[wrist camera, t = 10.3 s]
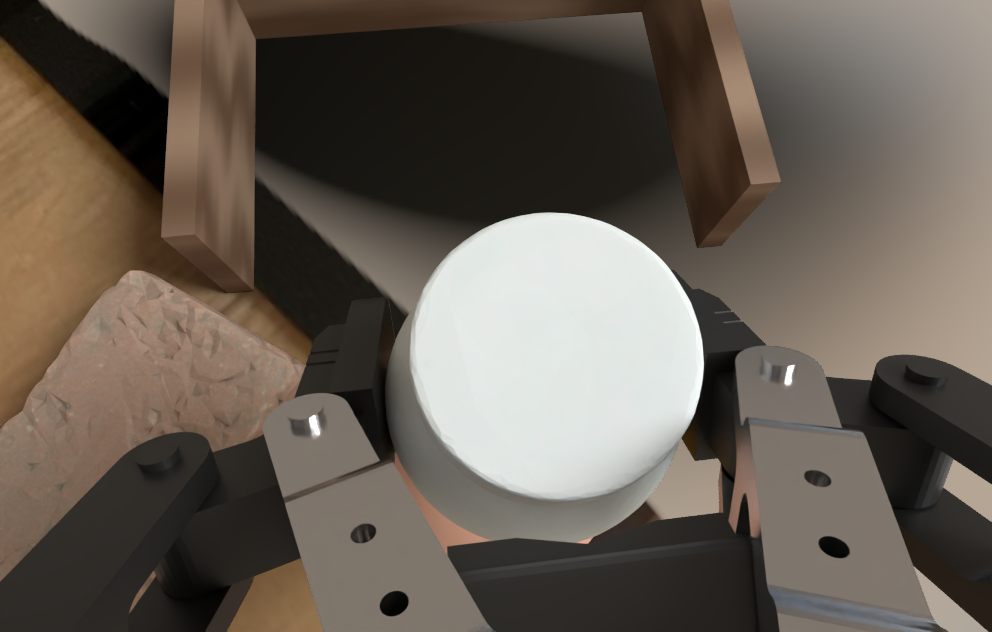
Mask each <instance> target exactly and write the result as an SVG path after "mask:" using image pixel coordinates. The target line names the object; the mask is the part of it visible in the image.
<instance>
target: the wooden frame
mask: <svg viewBox="0 0 992 632" xmlns="http://www.w3.org/2000/svg"><path fill="white" fill-rule="evenodd" d="M630 12H642V14H643V18H644V23H645V27H646V31H647V36H648V40H649V44H650V48H651V53H652V57H653V61H654V65H655V70H656V74H657V78H658V83H659V87H660V91H661V95H662V100H663V104H664V108H665V113H666V117H667V121H668V125H669V130H670V134H671V139H672V143H673V147H674V151H675V155H676V160H677V164H678V169H679V173H680V177H681V181H682V185H683V190H684V194H685V199H686V203H687V207H688V211H689V216H690V220H691V224H692V228H693V233H694V237H695V241H696V245H697V248H704V247H714V246H722V244H723V243H724V242H725V241H726V240H727V239H728V238H729V237H730V236H731V235H732V234H733V233H734V232H735V230H736V229H737V228H738V227H739V226H740V225H741V224H742V223H743V222H744V221H745V220H746V219H747V218H748V216H749V215H750V214H751V213H752V212H753V211H754V210H755V209H756V208H757V207H758V206H759V205H760V204H761V202H763V200H764V199H765V198H766V197H767V196H768V195H769V194H770V193H771V192H772V191H773V190H774V189H775V188H776V187H777V185H778V184H779V183H780V182H781V180H780V177H779V173H778V170H777V167H776V163H775V159H774V156H773V152H772V149H771V145H770V142H769V139H768V135H767V132H766V129H765V125H764V122H763V118H762V114H761V111H760V107H759V104H758V101H757V97H756V94H755V90H754V87H753V83H752V80H751V76H750V73H749V69H748V66H747V63H746V59H745V56H744V52H743V49H742V45H741V42H740V38H739V35H738V31H737V28H736V24H735V21H734V18H733V14H732V11H731V7H730V4H729V0H175V7H174V25H173V41H172V58H171V76H170V93H169V109H168V126H167V143H166V160H165V177H164V194H163V211H162V228H161V238H162V239H163V240H165V241H166V242H167V243H168V244H169V245H171V246H172V247H173V248H174V249H175V250H177V251H178V252H179V253H180V254H181V255H182V256H184V257H185V258H186V259H187V260H188V261H190V262H191V263H192V264H193V265H194V266H196V267H197V268H198V269H199V270H200V271H201V272H203V273H204V274H205V275H206V276H207V277H209V278H210V279H211V280H212V281H213V282H215V283H216V284H217V285H218V286H219V287H220V288H222V289H223V290H224V291H225V292H226V293H234V292H244V291H254V187H255V56H256V55H255V54H256V52H255V51H256V46H255V45H256V39H265V38H279V37H293V36H307V35H320V34H334V33H349V32H363V31H377V30H391V29H405V28H420V27H433V26H447V25H461V24H476V23H490V22H504V21H518V20H532V19H545V18H560V17H574V16H588V15H602V14H615V13H630Z"/></svg>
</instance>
